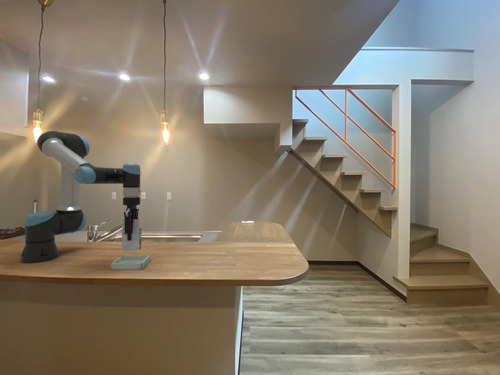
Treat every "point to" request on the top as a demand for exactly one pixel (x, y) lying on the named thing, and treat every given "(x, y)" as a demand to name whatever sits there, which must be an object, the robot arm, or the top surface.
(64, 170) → the robot arm
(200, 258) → the top surface
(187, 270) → the top surface
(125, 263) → the tray
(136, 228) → the ink box
